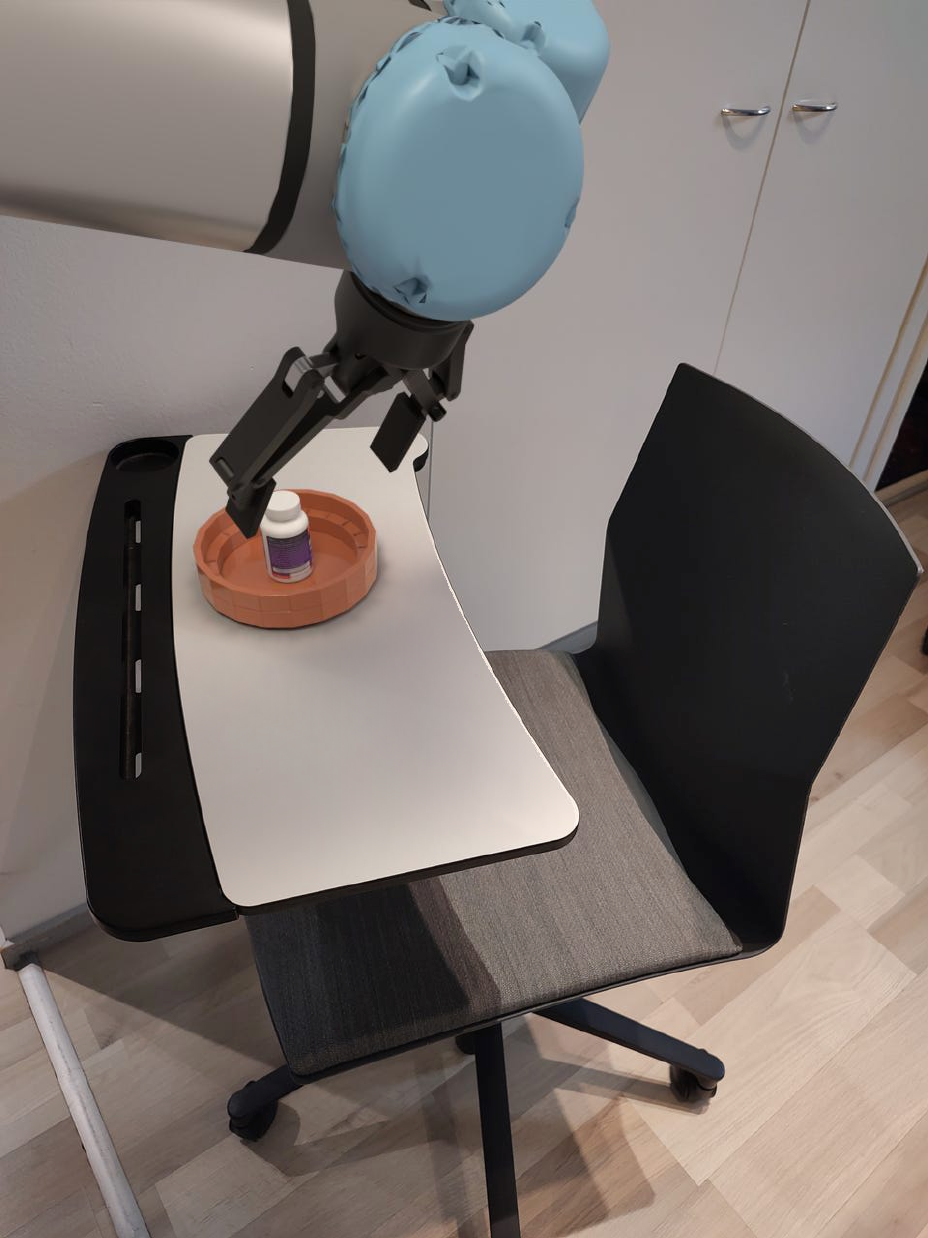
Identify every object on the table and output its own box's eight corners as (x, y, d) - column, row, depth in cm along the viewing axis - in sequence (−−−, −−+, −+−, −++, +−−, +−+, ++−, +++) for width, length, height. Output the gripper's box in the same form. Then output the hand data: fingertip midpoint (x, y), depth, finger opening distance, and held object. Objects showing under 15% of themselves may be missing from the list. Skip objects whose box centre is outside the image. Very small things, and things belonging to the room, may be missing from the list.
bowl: (214, 649, 81) (206, 612, 78) (192, 541, 93) (184, 505, 90) (397, 610, 85) (396, 574, 82) (353, 512, 97) (350, 477, 94)
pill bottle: (323, 571, 89) (315, 501, 83) (284, 590, 86) (274, 520, 81) (296, 550, 91) (287, 480, 86) (257, 568, 89) (246, 498, 83)
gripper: (273, 388, 41) (201, 598, 58) (593, 275, 56) (461, 470, 73) (182, 271, 42) (137, 511, 59) (520, 190, 57) (406, 401, 74)
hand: (315, 489), depth 66 cm, fingers open, 13 cm apart
